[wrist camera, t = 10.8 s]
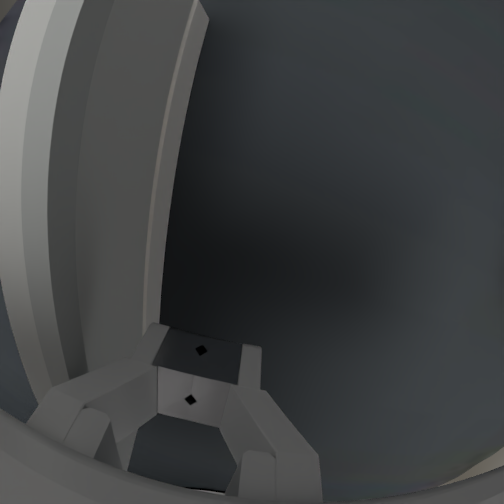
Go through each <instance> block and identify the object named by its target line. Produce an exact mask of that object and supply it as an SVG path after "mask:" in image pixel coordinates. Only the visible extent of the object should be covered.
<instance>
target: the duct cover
mask: <svg viewBox="0 0 504 504" xmlns="http://www.w3.org/2000/svg"><path fill="white" fill-rule="evenodd" d="M193 2H194V0H26V2H25V5H24V7H23V10H22V13H21V16H20V18H19V21H18V24H17V27H16V30H15V33H14V37H13V40H12V43H11V47H10V51H9V54H8V58H7V62H6V66H5V71H4V75H3V80H2V85H1V90H0V278H1V284H2V289H3V294H4V299H5V304H6V308H7V312H8V316H9V320H10V324H11V328H12V331H13V335H14V338H15V342H16V345H17V348H18V352H19V355H20V358H21V361H22V364H23V366H24V369H25V372H26V375H27V378H28V380H29V383H30V385H31V388H32V390H33V393H34V395H35V398H36V400H37V402H38V405H39V404H40V403H41V401H42V400H43V398H44V397H45V396H46V394H47V393H48V391H49V390H50V389H51V388H52V387H54V386H57V385H59V384H62V383H64V382H67V381H69V380H72V379H74V378H77V377H79V376H82V375H84V374H86V373H89V372H91V371H93V370H96V369H98V368H101V367H103V366H105V365H108V364H110V363H112V362H115V361H117V360H119V359H122V358H124V357H127V358H131V356H132V355H133V353H134V351H135V349H136V348H137V346H138V344H139V342H140V341H141V339H142V332H143V292H144V272H145V257H146V244H147V233H148V222H149V213H150V204H151V195H152V188H153V180H154V173H155V166H156V160H157V153H158V147H159V141H160V136H161V130H162V125H163V119H164V114H165V109H166V104H167V99H168V95H169V90H170V86H171V81H172V77H173V73H174V69H175V65H176V61H177V57H178V53H179V49H180V45H181V42H182V38H183V35H184V31H185V28H186V24H187V21H188V18H189V14H190V11H191V8H192V5H193ZM137 430H138V429H136V430H135V431H133V432H132V433H131V434H129V435H128V436H126V437H125V438H123V439H122V440H121V441H119V442H118V443H116V445H117V449H118V453H119V457H120V461H121V464H122V470H125V471H127V469H128V465H129V461H130V457H131V453H132V449H133V445H134V442H135V438H136V434H137Z"/></svg>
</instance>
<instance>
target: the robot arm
mask: <svg viewBox="0 0 504 504" xmlns="http://www.w3.org/2000/svg"><path fill="white" fill-rule="evenodd" d="M261 360H262V348H261V346H255V345H249V344H240V343H235V342H230V341H225V340H221V339H216V338H212V337H207V336H204V335H200V334H196V333H192V332H189V331H185V330H181V329H178V328H174V327H169V326H166V325H163V324H159V323H155V322H153V323H151V324H150V325H149V327H148V328H147V330H146V332H145V334H144V335H143V337H142V339H141V341H140V342H139V344H138V346H137V348H136V349H135V351H134V353H133V355H132V356H131V358H127V357H124V358H122V359H119V360H117V361H115V362H112V363H110V364H108V365H105V366H103V367H101V368H98V369H96V370H93V371H91V372H89V373H86V374H84V375H82V376H79V377H77V378H74V379H72V380H69V381H67V382H64V383H62V384H59V385H57V386H54V387H52V388H51V389H50V390H49V391H48V393H47V394H46V396H45V397H44V398H43V400H42V401H41V403H40V404H39V406H38V407H37V408H36V410H35V411H34V413H33V414H32V416H31V417H30V419H29V420H28V422H27V423H26V424H24V423H22V422H21V421H19V420H18V419H16V418H14V417H13V416H11V415H10V414H8V413H7V412H5V411H4V410H2V409H1V408H0V504H504V466H502V467H499V468H496V469H494V470H491V471H488V472H486V473H483V474H480V475H477V476H474V477H471V478H468V479H465V480H462V481H458V482H454V483H451V484H447V485H444V486H440V487H436V488H431V489H427V490H422V491H418V492H413V493H407V494H402V495H396V496H389V497H382V498H374V499H365V500H353V501H337V502H323V495H322V484H321V474H320V464H319V455H318V454H317V453H316V452H315V451H314V449H313V448H312V447H311V446H310V445H309V444H308V442H307V441H306V440H305V439H304V438H303V436H302V435H301V434H300V433H299V431H298V430H297V429H296V428H295V427H294V425H293V424H292V423H291V422H290V420H289V419H288V418H287V417H286V415H285V414H284V413H283V412H282V410H281V409H280V408H279V407H278V405H277V404H276V403H275V402H274V400H273V399H272V398H271V396H270V395H269V394H268V393H267V391H265V390H260V386H261ZM157 413H160V414H164V415H168V416H172V417H176V418H181V419H185V420H189V421H193V422H197V423H201V424H205V425H209V426H214V427H218V428H219V430H220V432H221V434H222V436H223V438H224V440H225V442H226V444H227V446H228V448H229V450H230V452H231V454H232V456H233V458H234V460H235V462H236V464H237V468H236V470H235V472H234V475H233V477H232V479H231V481H230V483H229V485H228V487H227V489H226V492H225V493H219V492H213V491H205V490H194V489H188V488H184V487H180V486H175V485H171V484H168V483H164V482H160V481H157V480H153V479H150V478H146V477H143V476H140V475H137V474H134V473H131V472H128V471H125V470H122V464H121V461H120V457H119V453H118V449H117V445H116V443H118V442H119V441H121V440H122V439H123V438H125V437H126V436H128V435H129V434H131V433H132V432H133V431H135V430H136V429H138V428H139V427H140V426H142V425H143V424H144V423H146V422H147V421H149V420H150V419H151V418H153V417H154V416H155V415H157Z"/></svg>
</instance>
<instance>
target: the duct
mask: <svg viewBox="0 0 504 504" xmlns="http://www.w3.org/2000/svg"><path fill="white" fill-rule="evenodd" d="M208 23H209V18H208V16H207V14H206V12H205V11H204V9H203V7H202V5H201V3H200V1H199V0H194V2H193V5H192V8H191V11H190V14H189V18H188V21H187V24H186V28H185V31H184V35H183V38H182V42H181V45H180V49H179V53H178V57H177V61H176V65H175V69H174V73H173V77H172V81H171V86H170V90H169V95H168V99H167V104H166V109H165V114H164V119H163V125H162V130H161V136H160V141H159V147H158V153H157V160H156V166H155V173H154V180H153V188H152V195H151V204H150V213H149V222H148V233H147V244H146V257H145V272H144V292H143V332H142V337H143V335H144V334H145V332H146V330H147V328H148V327H149V325H150V324H151V323H153V322H155V323H159V318H160V303H161V289H162V277H163V266H164V256H165V246H166V237H167V229H168V221H169V213H170V205H171V198H172V191H173V185H174V178H175V172H176V166H177V160H178V154H179V148H180V143H181V137H182V132H183V127H184V122H185V117H186V112H187V107H188V102H189V98H190V93H191V89H192V84H193V80H194V76H195V72H196V68H197V64H198V60H199V56H200V52H201V48H202V44H203V41H204V37H205V33H206V30H207V26H208Z"/></svg>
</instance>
